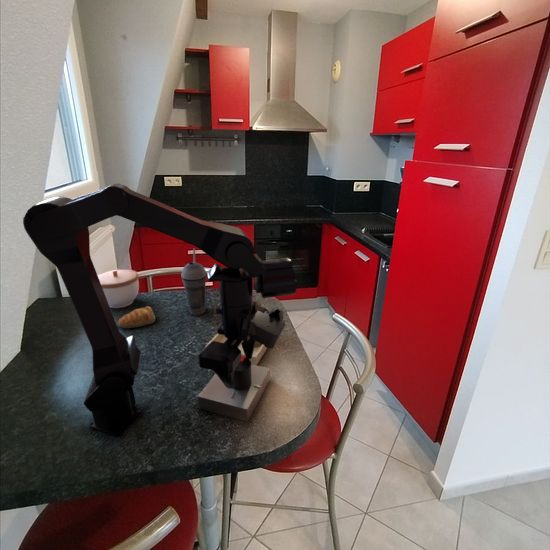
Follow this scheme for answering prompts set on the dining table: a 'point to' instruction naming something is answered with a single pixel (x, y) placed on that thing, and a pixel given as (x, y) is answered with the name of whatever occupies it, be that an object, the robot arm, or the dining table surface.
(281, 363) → the dining table surface
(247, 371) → the stove knob
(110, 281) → the lidded bowl
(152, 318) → the pastry
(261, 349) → the wooden tray
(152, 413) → the dining table surface
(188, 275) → the beverage cup
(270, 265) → the robot arm
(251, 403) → the stove panel
